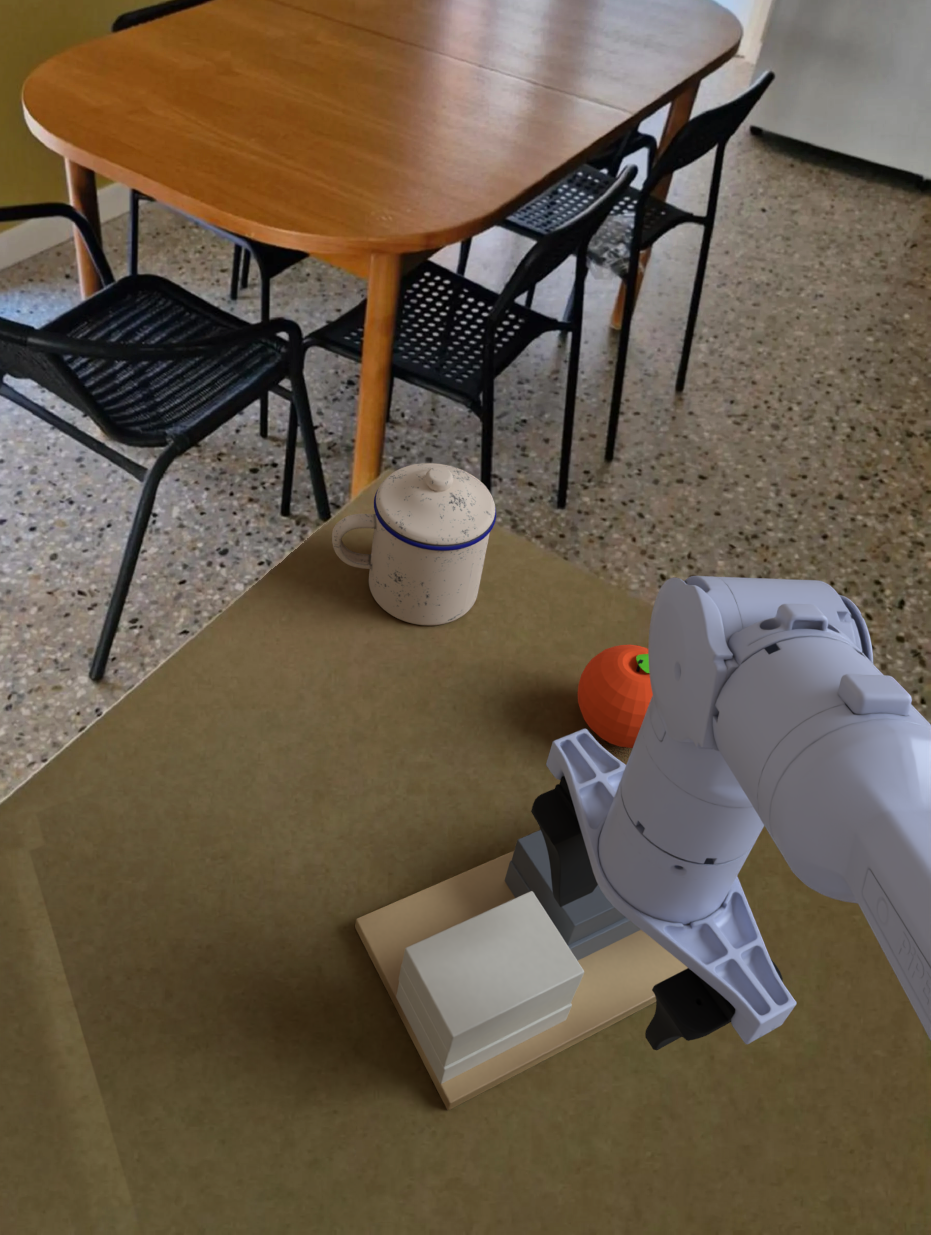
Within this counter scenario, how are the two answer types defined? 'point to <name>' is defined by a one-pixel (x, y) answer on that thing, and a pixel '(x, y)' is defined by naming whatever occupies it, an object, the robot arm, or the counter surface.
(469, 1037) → the white book
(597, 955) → the shelf board
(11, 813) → the counter surface
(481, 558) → the teacup with lid
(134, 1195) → the counter surface
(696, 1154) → the counter surface
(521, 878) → the grey books
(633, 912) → the robot arm
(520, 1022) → the white books
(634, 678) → the clementine
